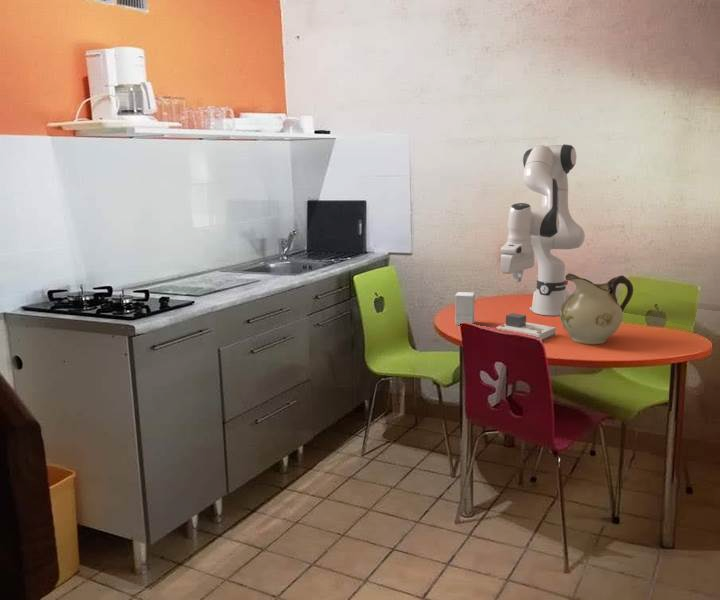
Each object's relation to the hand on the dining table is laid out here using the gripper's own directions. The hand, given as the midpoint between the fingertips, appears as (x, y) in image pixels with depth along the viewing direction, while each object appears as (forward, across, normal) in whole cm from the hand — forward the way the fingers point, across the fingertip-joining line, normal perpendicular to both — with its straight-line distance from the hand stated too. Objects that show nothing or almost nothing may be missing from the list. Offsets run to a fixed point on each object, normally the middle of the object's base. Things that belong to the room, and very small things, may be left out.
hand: (517, 281), depth 274 cm
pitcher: (+20, -9, +27) cm, 35 cm away
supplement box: (+21, 0, -23) cm, 31 cm away
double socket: (+20, 0, +5) cm, 21 cm away
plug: (+19, 0, 0) cm, 19 cm away
